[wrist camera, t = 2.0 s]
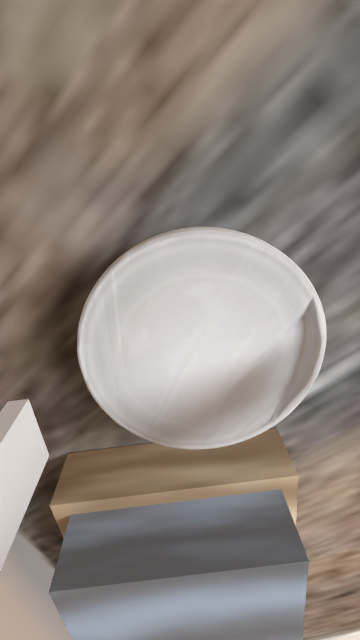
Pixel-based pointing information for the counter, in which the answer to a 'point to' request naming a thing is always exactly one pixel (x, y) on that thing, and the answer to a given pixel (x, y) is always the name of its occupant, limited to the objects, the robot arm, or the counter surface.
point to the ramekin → (201, 338)
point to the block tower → (180, 543)
